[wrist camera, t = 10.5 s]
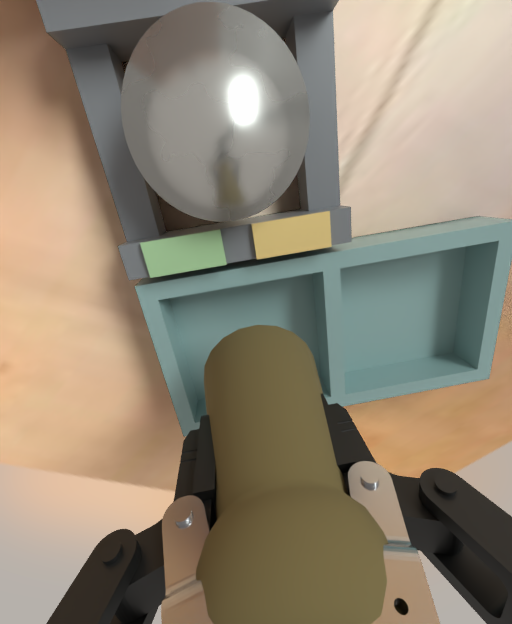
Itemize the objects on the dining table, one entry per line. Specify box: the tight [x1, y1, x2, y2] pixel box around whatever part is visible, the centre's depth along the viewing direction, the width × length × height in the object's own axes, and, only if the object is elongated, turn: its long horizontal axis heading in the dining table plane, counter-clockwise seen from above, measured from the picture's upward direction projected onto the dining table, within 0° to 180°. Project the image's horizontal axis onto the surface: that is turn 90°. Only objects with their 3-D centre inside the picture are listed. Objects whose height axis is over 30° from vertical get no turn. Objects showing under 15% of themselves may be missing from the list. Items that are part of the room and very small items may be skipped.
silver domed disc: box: [121, 2, 310, 222], centre depth 14 cm, size 8×8×4 cm
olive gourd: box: [196, 325, 403, 624], centre depth 11 cm, size 6×6×11 cm
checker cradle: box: [36, 0, 352, 280], centre depth 15 cm, size 12×12×4 cm
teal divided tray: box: [135, 216, 512, 437], centre depth 20 cm, size 22×11×3 cm, turn 99°
